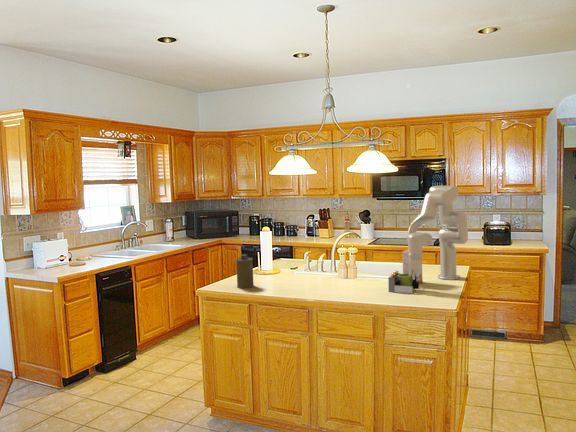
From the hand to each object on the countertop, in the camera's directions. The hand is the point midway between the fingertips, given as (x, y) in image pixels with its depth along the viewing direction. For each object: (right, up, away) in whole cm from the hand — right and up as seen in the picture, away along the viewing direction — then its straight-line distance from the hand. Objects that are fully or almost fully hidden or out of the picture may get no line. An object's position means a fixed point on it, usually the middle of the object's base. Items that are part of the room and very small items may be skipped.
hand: (415, 288), depth 266 cm
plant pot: (-4, -2, +3) cm, 5 cm away
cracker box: (+3, 0, +18) cm, 18 cm away
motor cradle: (-7, -1, +4) cm, 8 cm away
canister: (-99, -3, +27) cm, 102 cm away
